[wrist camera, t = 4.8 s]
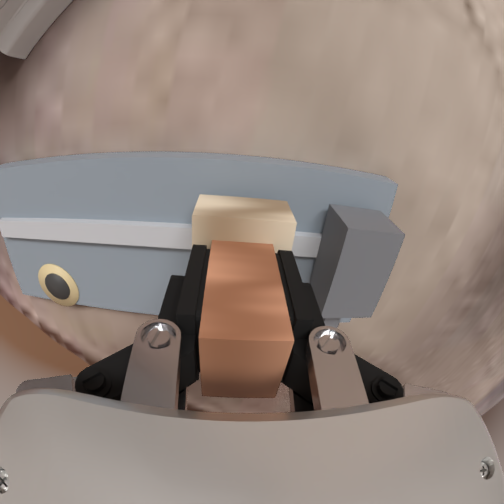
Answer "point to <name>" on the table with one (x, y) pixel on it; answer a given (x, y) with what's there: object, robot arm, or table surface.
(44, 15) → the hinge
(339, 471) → the robot arm
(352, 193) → the gauge board
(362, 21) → the table surface
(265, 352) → the block
